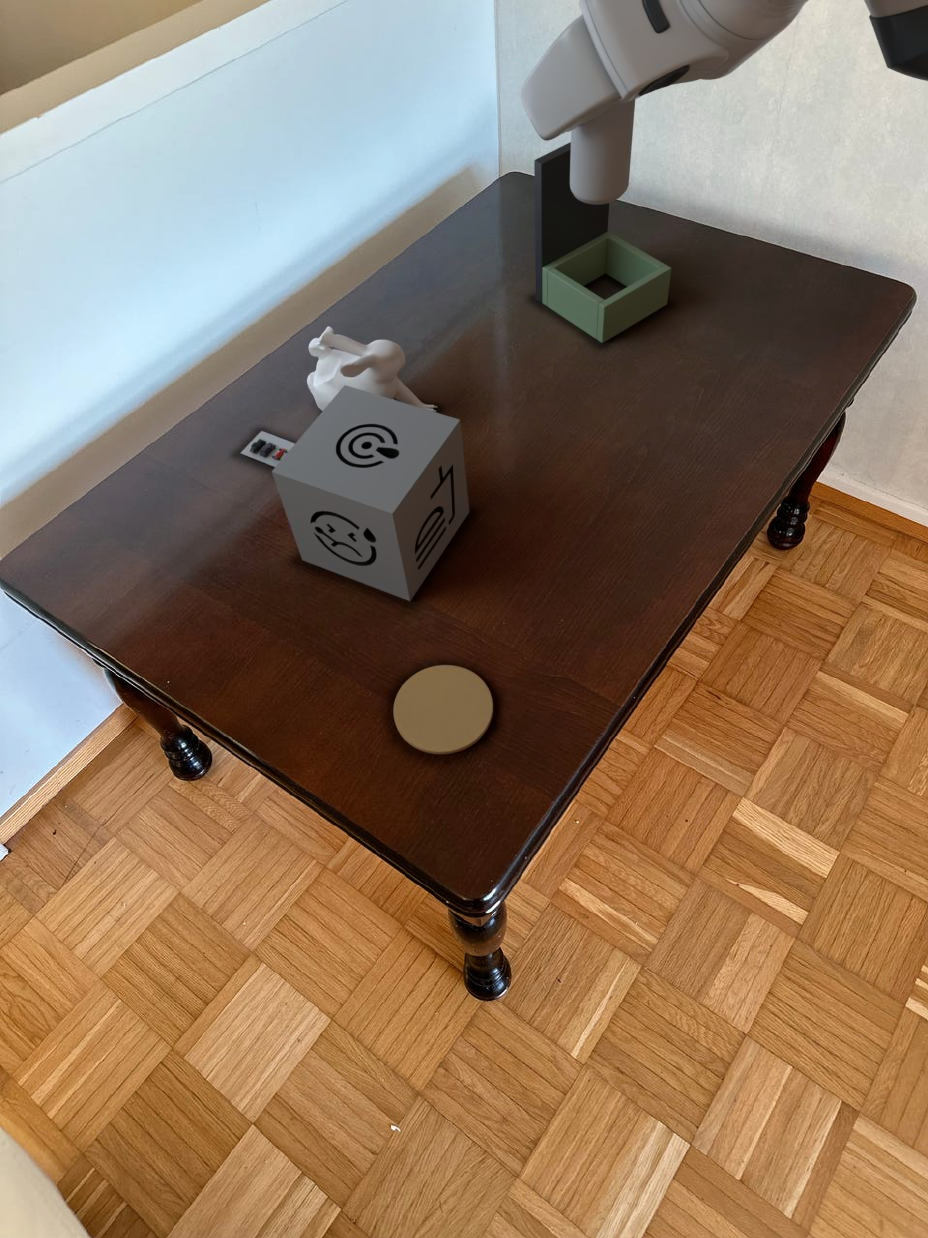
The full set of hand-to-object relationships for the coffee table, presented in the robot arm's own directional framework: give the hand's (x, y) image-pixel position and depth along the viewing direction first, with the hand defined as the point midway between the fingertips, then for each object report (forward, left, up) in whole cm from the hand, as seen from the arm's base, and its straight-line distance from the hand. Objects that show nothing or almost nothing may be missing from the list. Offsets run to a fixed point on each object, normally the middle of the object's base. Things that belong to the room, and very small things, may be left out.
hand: (596, 105), depth 69 cm
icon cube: (+16, +25, -21) cm, 37 cm away
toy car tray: (+26, +16, -21) cm, 37 cm away
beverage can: (0, 0, -7) cm, 7 cm away
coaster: (+10, +41, -21) cm, 47 cm away
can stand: (-2, -5, -21) cm, 22 cm away
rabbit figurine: (+20, +11, -21) cm, 31 cm away
